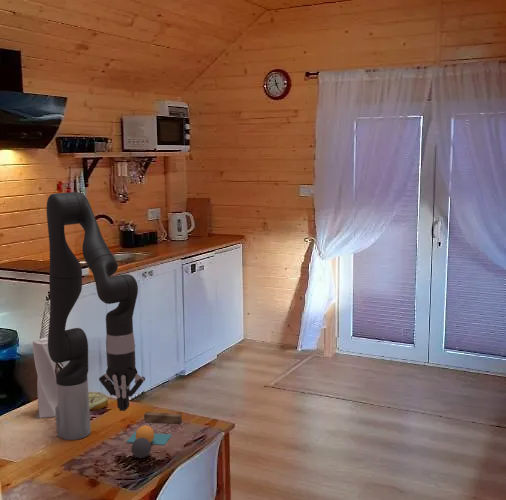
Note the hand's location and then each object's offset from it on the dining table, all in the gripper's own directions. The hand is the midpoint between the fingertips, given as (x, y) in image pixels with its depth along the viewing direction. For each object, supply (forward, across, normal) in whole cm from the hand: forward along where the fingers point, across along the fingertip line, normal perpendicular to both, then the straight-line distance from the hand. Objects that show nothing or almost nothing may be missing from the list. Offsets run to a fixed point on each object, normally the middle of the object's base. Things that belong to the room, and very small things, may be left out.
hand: (123, 409), depth 174 cm
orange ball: (+14, 0, +14) cm, 20 cm away
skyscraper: (+18, -40, +30) cm, 53 cm away
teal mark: (+17, 0, +17) cm, 24 cm away
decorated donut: (+18, -29, +39) cm, 51 cm away
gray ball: (+14, +2, +6) cm, 15 cm away
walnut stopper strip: (+17, 0, +30) cm, 34 cm away
